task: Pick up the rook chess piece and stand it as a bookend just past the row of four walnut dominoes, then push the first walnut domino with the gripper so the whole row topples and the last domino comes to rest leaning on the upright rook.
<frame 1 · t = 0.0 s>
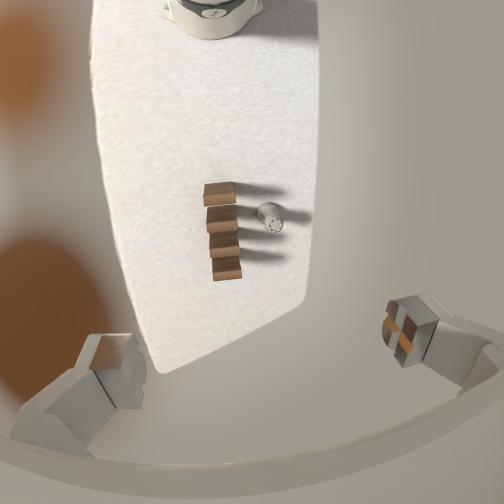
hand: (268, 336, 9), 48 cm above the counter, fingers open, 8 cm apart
domino 2: (220, 209, 56), on the counter
rook chess piece: (266, 212, 58), on the counter
domino 4: (224, 252, 60), on the counter
domino 1: (218, 187, 54), on the counter
domino 3: (222, 231, 58), on the counter
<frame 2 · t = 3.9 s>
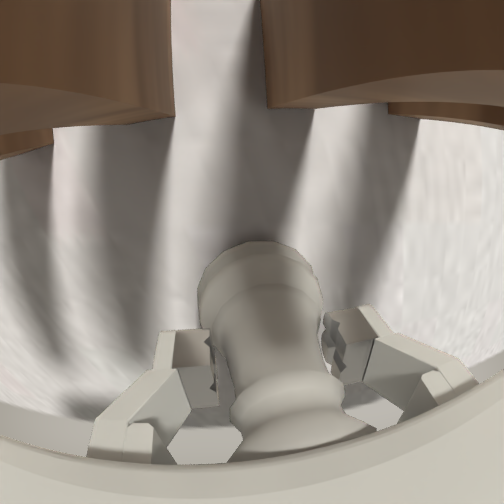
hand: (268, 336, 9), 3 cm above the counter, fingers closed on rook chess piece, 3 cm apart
domino 2: (287, 39, 7), on the counter
rook chess piece: (255, 287, 11), on the counter, touching gripper
domino 4: (32, 84, 7), on the counter
domino 1: (401, 55, 8), on the counter
domino 3: (146, 49, 7), on the counter
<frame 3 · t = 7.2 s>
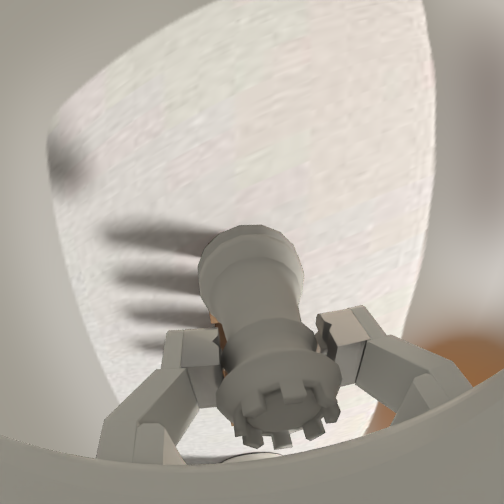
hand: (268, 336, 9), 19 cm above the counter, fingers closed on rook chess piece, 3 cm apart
rook chess piece: (247, 266, 13), point 14 cm above the counter, touching gripper
domino 4: (235, 248, 28), on the counter
domino 3: (239, 288, 30), on the counter
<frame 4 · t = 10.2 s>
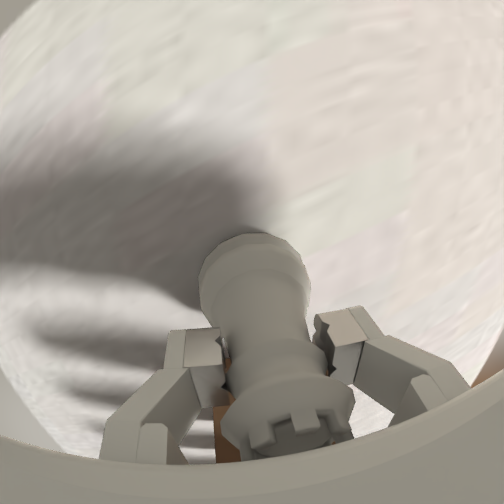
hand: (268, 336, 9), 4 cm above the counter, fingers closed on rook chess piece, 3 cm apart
rook chess piece: (250, 276, 13), on the counter, touching gripper
domino 4: (260, 365, 15), on the counter
when the fingers open (4 cm above the counter, at t = 10.2 s): rook chess piece stays where it is, on the counter.
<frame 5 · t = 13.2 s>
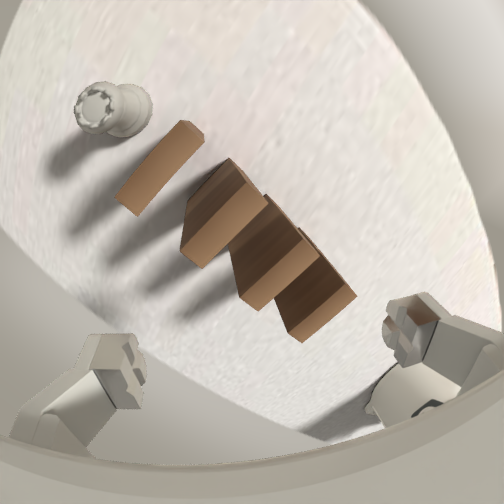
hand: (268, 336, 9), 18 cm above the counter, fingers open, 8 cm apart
domino 2: (252, 219, 26), on the counter
rook chess piece: (128, 110, 20), on the counter
domino 4: (175, 149, 22), on the counter
domino 1: (284, 250, 28), on the counter
domino 3: (214, 185, 24), on the counter
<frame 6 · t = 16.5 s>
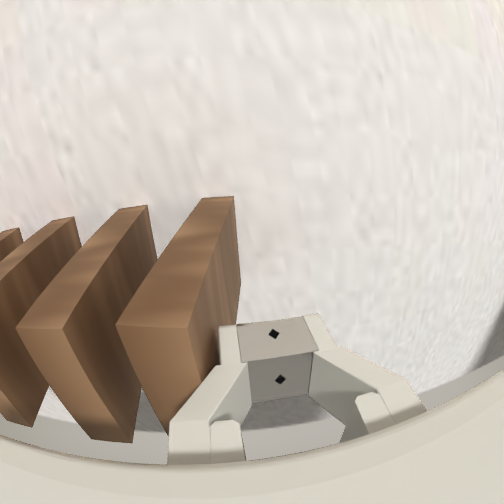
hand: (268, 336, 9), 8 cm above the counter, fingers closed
domino 2: (141, 250, 15), on the counter
domino 4: (22, 264, 14), on the counter
domino 1: (222, 242, 16), on the counter, tilted 9°
domino 3: (73, 258, 15), on the counter
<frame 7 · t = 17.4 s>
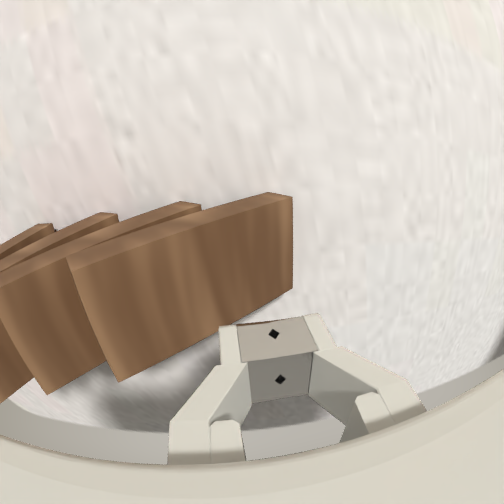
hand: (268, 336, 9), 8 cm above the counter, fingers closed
domino 2: (196, 249, 15), point 1 cm above the counter, tilted 47°, touching domino 1, domino 3
domino 4: (56, 263, 14), on the counter, tilted 20°, touching domino 3, rook chess piece
domino 1: (281, 241, 15), point 1 cm above the counter, tilted 55°, touching domino 2
domino 3: (118, 257, 15), on the counter, tilted 35°, touching domino 2, domino 4
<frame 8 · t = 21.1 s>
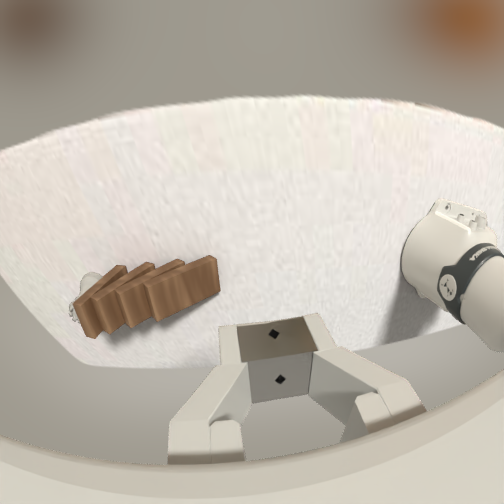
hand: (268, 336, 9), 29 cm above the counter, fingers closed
domino 2: (183, 276, 39), point 1 cm above the counter, tilted 47°, touching domino 1, domino 3
rook chess piece: (96, 283, 39), on the counter, touching domino 4
domino 4: (125, 281, 39), on the counter, tilted 20°, touching domino 3, rook chess piece
domino 1: (215, 273, 40), point 1 cm above the counter, tilted 55°, touching domino 2
domino 3: (153, 278, 39), on the counter, tilted 35°, touching domino 2, domino 4
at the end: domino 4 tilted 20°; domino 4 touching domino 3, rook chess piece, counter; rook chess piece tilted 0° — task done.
